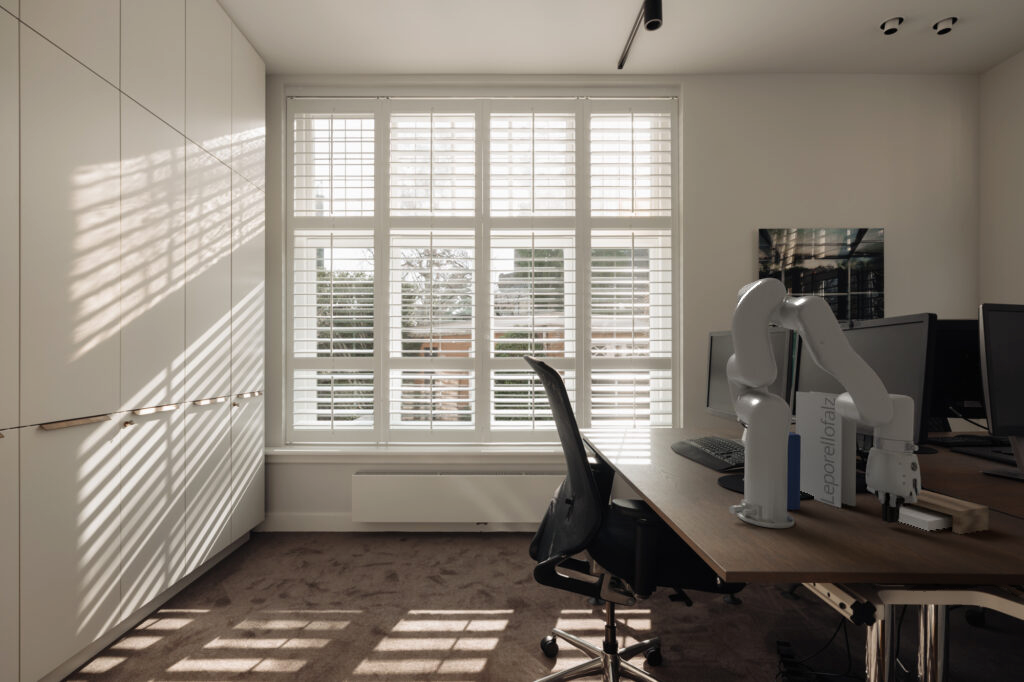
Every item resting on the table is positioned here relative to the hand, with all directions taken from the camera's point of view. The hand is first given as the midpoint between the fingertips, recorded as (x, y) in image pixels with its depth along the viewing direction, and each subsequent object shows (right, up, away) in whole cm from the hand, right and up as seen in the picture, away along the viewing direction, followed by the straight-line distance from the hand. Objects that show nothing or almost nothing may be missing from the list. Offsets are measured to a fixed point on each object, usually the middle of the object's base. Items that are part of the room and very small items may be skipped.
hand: (890, 521), depth 118 cm
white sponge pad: (+12, -2, +4) cm, 13 cm away
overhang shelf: (+15, -2, +5) cm, 16 cm away
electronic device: (-18, -1, +16) cm, 24 cm away
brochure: (-3, -2, +21) cm, 21 cm away
